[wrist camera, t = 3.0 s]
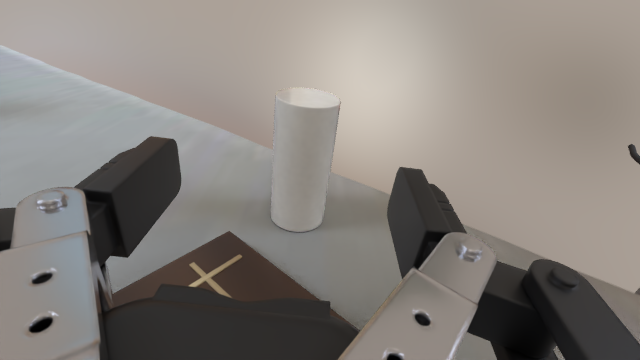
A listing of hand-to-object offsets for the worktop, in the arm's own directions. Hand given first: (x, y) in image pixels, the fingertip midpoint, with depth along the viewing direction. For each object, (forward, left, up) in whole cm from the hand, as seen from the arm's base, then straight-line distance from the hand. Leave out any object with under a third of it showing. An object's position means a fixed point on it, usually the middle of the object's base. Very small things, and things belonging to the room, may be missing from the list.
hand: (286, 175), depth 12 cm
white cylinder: (-9, -7, -10) cm, 15 cm away
